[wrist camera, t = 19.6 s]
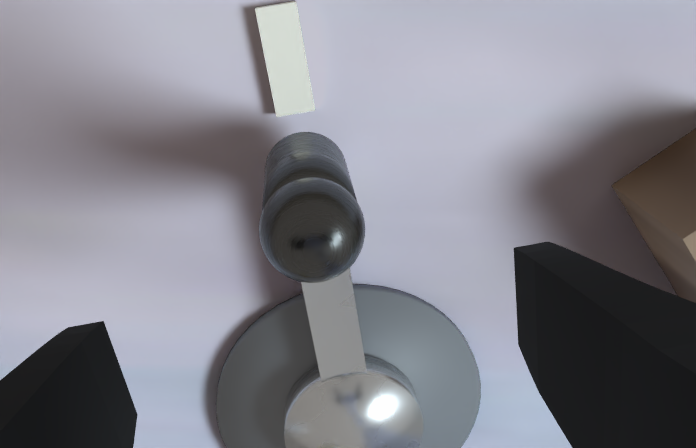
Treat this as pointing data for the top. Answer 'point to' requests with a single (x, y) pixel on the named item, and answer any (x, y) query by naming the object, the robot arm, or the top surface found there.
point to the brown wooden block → (667, 210)
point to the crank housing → (372, 309)
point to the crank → (330, 304)
